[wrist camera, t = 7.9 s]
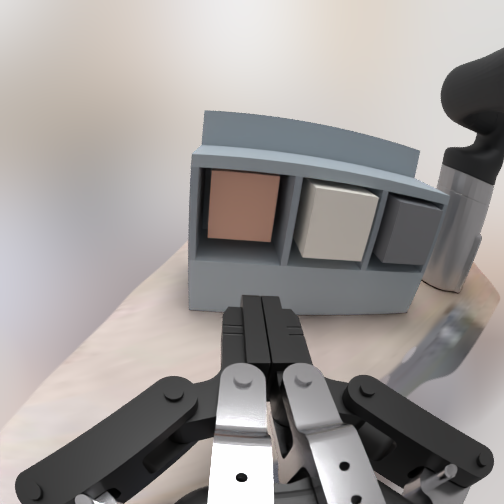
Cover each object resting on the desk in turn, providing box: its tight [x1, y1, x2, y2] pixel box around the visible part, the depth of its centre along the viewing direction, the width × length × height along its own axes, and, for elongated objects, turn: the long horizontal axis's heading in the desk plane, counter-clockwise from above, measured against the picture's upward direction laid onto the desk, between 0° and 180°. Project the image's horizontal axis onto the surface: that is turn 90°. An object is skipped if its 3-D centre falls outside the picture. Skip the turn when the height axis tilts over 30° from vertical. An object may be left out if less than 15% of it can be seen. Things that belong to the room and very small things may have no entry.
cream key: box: [293, 177, 379, 261], centre depth 24 cm, size 5×6×6 cm
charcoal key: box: [372, 192, 443, 265], centre depth 25 cm, size 5×6×6 cm
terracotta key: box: [208, 168, 280, 242], centre depth 26 cm, size 5×6×6 cm
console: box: [188, 111, 450, 315], centre depth 27 cm, size 9×25×18 cm, turn 94°
